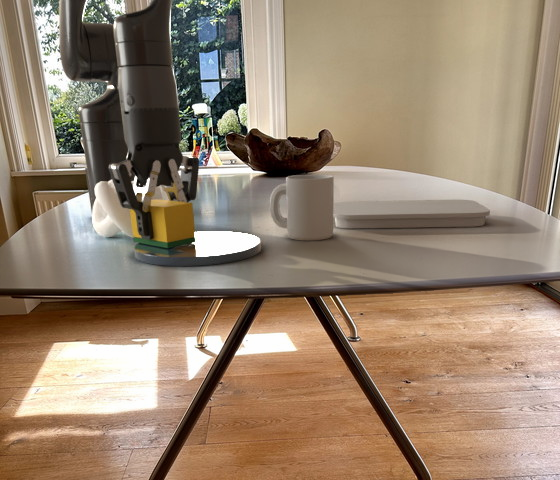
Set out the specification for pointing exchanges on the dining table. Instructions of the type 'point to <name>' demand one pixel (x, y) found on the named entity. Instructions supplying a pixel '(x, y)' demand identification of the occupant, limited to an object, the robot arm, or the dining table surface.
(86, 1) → the robot arm
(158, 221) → the sponge
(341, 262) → the dining table surface
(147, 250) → the plate
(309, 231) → the cup
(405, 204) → the grey flat slab
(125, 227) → the white knot sculpture
